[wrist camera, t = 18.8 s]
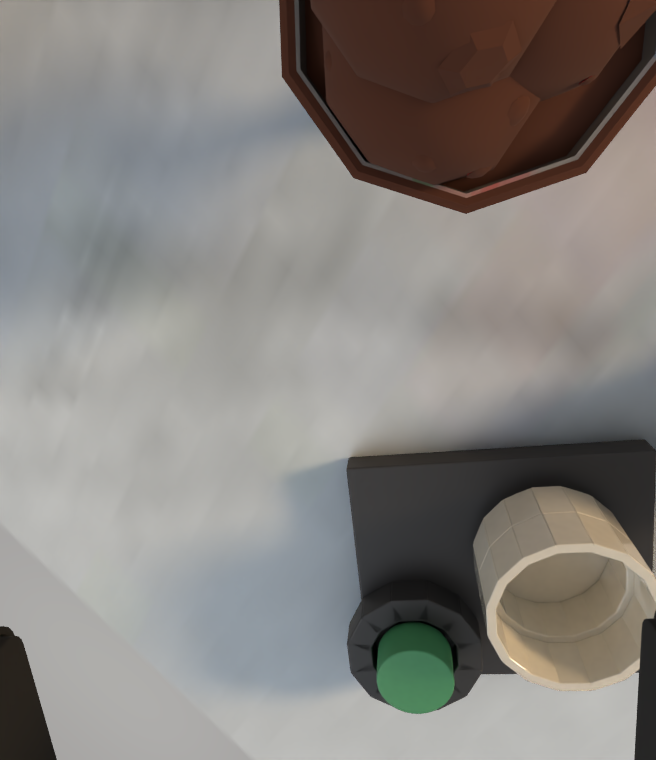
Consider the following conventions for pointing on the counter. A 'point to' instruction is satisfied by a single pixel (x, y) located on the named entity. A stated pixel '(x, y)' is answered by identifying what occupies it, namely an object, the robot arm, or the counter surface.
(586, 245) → the counter surface
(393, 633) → the button
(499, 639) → the cream cup
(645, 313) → the counter surface
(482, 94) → the ice cream bowl
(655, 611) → the robot arm
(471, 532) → the scale
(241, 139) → the counter surface
